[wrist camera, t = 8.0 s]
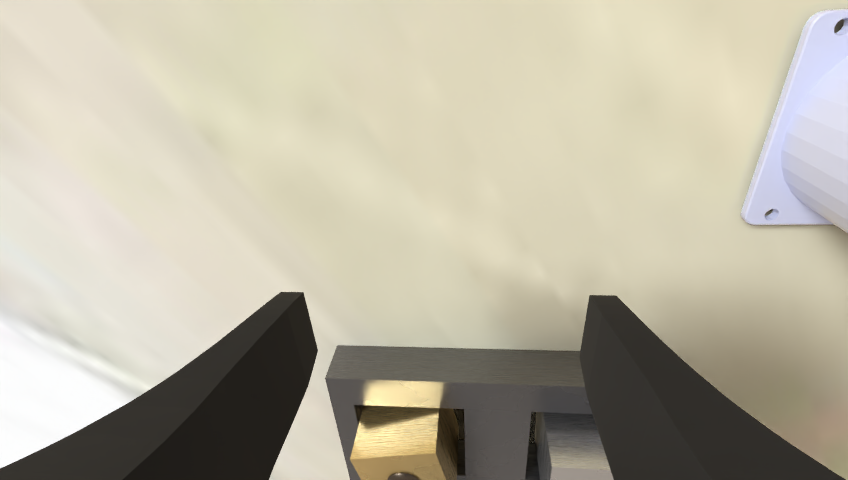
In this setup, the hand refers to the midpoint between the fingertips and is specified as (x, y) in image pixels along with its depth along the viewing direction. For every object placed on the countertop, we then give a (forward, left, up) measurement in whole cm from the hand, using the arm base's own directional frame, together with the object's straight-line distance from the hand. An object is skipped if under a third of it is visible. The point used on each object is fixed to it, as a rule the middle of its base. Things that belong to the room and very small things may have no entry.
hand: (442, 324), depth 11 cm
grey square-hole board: (-2, +15, -9) cm, 18 cm away
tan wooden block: (+3, +15, -10) cm, 18 cm away
